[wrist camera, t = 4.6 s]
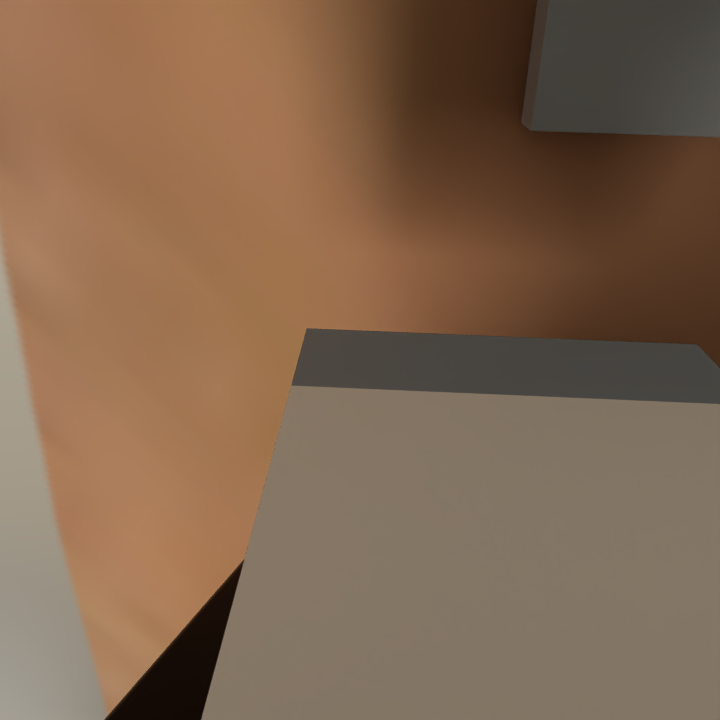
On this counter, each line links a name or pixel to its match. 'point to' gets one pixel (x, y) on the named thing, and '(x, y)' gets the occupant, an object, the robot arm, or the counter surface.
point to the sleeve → (483, 535)
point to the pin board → (625, 67)
